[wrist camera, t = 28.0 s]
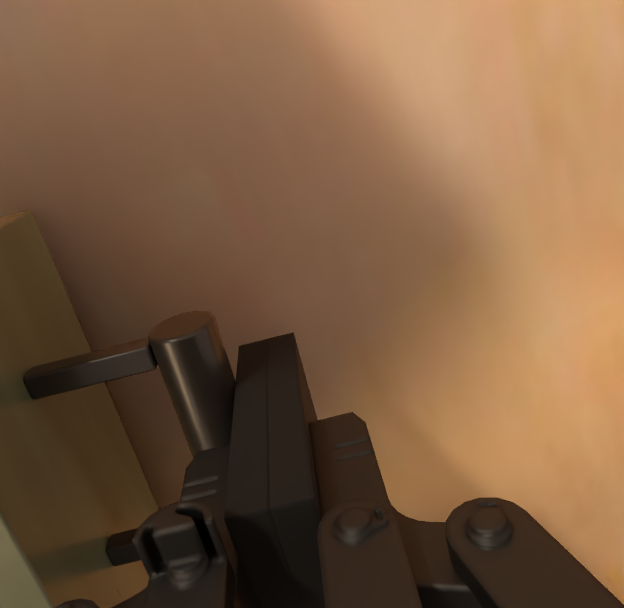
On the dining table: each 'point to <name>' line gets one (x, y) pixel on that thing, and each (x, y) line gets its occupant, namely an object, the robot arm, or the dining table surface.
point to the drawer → (84, 432)
